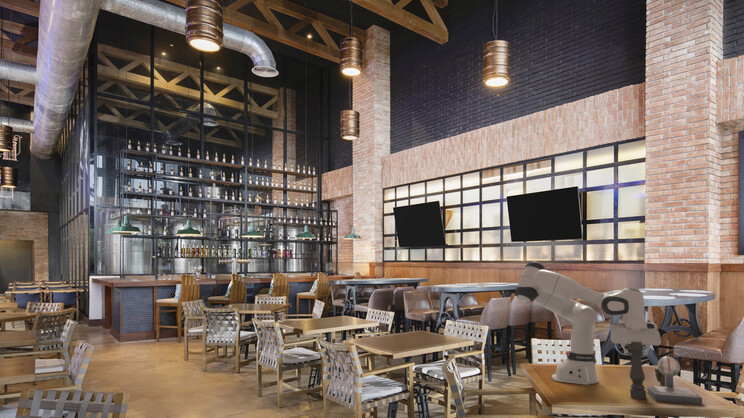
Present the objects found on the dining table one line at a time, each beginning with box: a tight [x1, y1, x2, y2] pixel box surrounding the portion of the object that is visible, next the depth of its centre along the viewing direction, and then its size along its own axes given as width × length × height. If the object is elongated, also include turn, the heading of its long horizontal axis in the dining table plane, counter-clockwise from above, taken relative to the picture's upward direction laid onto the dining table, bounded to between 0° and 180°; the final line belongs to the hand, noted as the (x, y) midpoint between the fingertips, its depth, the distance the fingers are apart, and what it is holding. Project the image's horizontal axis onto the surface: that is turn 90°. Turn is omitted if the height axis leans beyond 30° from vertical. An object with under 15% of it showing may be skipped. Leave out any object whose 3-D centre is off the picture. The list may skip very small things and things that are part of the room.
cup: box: [654, 367, 665, 386], centre depth 239 cm, size 8×7×8 cm
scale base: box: [646, 356, 703, 406], centre depth 219 cm, size 18×14×18 cm
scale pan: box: [653, 385, 697, 397], centre depth 217 cm, size 14×11×1 cm
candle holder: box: [628, 342, 647, 400], centre depth 221 cm, size 6×6×25 cm
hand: (636, 354), depth 221 cm, fingers open, 7 cm apart
